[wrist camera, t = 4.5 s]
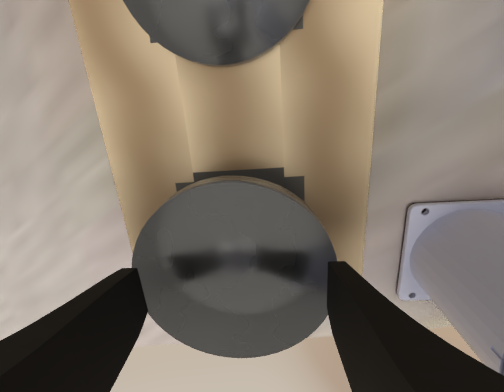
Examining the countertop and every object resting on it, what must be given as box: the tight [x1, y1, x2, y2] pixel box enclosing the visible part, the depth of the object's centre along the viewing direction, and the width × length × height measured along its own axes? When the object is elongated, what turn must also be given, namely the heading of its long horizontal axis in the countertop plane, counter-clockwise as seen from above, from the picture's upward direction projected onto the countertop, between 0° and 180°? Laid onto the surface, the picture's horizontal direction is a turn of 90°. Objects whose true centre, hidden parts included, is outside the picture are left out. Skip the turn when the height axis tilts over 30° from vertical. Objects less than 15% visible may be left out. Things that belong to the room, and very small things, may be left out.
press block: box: [68, 0, 384, 276], centre depth 15 cm, size 13×19×5 cm
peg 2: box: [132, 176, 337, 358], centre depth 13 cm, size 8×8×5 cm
